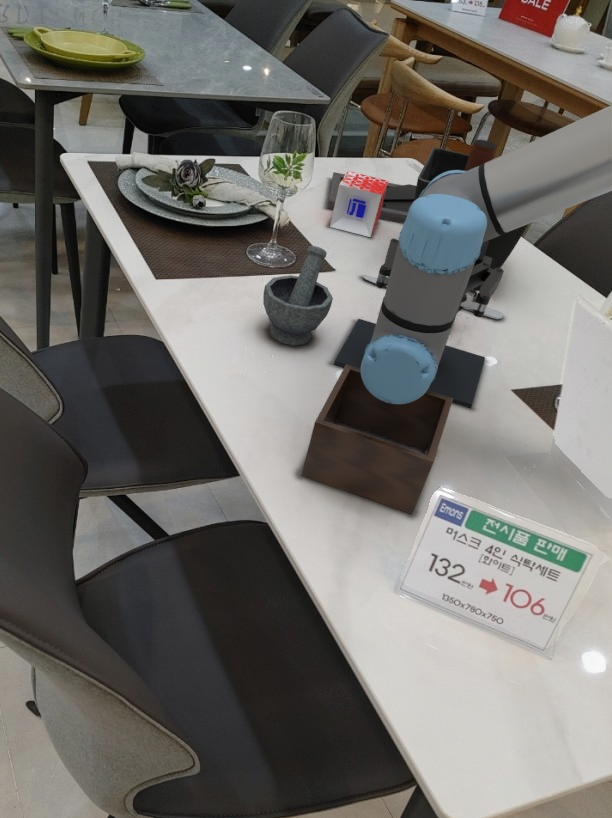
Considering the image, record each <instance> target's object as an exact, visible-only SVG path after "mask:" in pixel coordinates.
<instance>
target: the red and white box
mask: <svg viewBox="0 0 612 818" xmlns="http://www.w3.org/2000/svg"><path fill="white" fill-rule="evenodd" d="M345 174H346V175H345V176H344V178H343V179H342V181H341V182H340V184H339V187H338V191H337V196H336V200H335V206H334V210H333V211H332V213H331V220H330V224H329V228H331V229H332V228H333V229H337V230H340V231H345V232H349V233H351V234H352V233H353V234H356V235H359V236H364V237H367V238H371V237H372V235H373V233H374V231H375V229H376V227H377V225H378V222H379V220H380V219H379V215H380V211H381V208H382V204H383V200H384V196H385V193H386V189H387V185H388V183H389V180H386V179H382V178H378V177H374V176H370V175H367V174H363V173H358V172H354V171H351V170H347V172H345Z"/></svg>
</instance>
